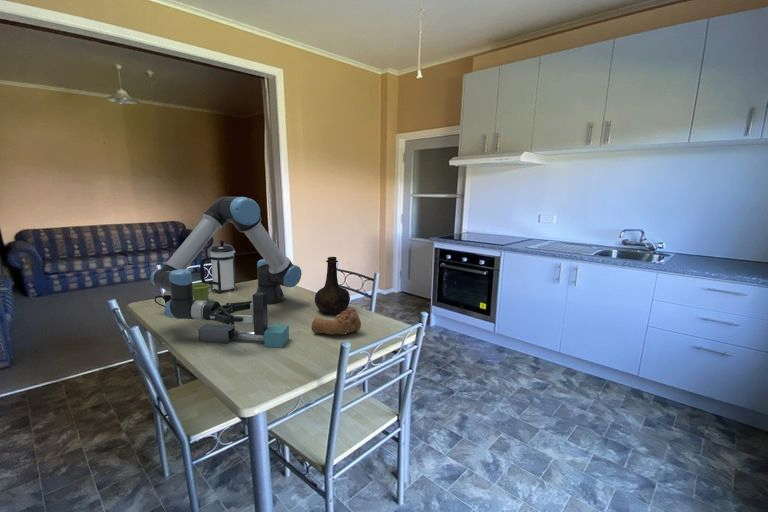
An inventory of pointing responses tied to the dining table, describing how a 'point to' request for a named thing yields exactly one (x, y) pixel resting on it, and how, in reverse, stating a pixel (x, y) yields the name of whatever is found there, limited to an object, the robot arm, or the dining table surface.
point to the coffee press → (220, 267)
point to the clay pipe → (338, 323)
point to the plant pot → (200, 292)
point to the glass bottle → (332, 292)
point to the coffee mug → (164, 297)
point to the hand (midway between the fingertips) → (259, 313)
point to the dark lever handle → (255, 319)
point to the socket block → (276, 335)
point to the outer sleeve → (215, 333)
